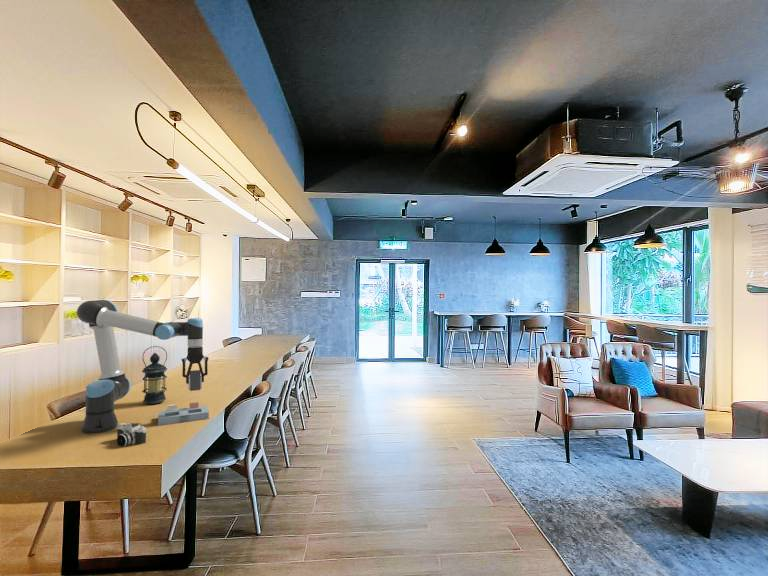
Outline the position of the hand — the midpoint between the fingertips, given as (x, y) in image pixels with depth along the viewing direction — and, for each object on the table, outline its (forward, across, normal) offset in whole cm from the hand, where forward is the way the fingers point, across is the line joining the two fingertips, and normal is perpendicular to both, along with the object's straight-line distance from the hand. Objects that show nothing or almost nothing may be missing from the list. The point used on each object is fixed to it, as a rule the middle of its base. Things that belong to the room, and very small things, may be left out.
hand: (195, 388), depth 222 cm
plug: (0, 0, 0) cm, 0 cm away
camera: (+16, -30, -26) cm, 43 cm away
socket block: (+16, -6, +1) cm, 17 cm away
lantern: (+16, -20, +43) cm, 50 cm away
